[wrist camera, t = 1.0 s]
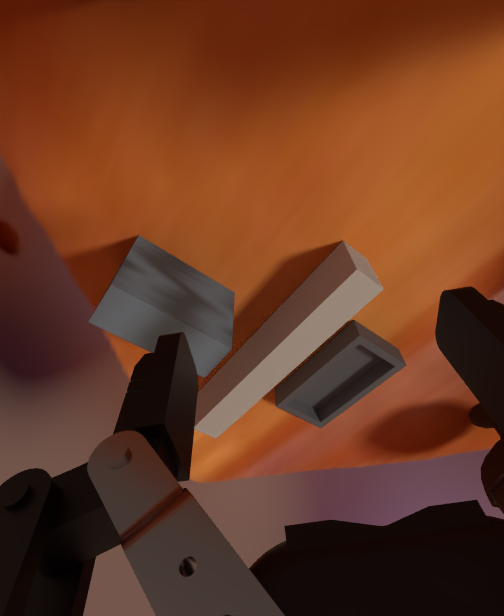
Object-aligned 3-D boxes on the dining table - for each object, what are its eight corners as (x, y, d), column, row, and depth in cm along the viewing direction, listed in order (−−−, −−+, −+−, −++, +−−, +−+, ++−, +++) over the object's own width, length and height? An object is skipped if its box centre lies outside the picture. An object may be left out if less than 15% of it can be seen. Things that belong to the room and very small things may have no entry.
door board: (342, 240, 32) (357, 269, 28) (366, 258, 33) (383, 288, 29) (197, 392, 43) (192, 428, 39) (218, 402, 44) (216, 438, 40)
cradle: (353, 319, 37) (359, 335, 35) (398, 349, 39) (406, 365, 37) (274, 390, 43) (276, 406, 41) (317, 411, 45) (320, 428, 43)
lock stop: (119, 268, 33) (88, 322, 27) (139, 235, 31) (111, 284, 25) (211, 319, 37) (204, 378, 30) (234, 292, 35) (232, 348, 28)
